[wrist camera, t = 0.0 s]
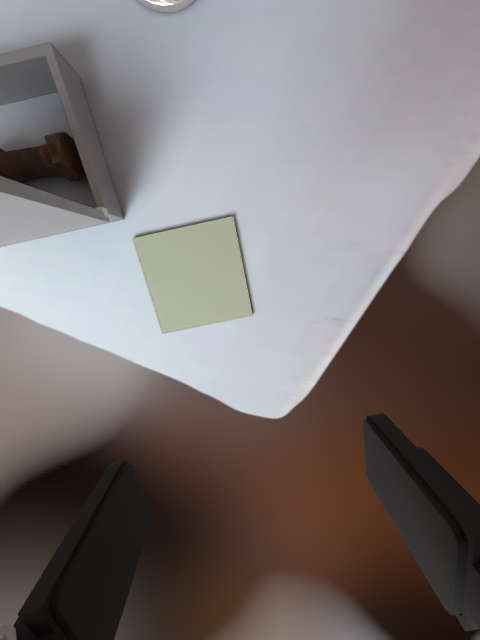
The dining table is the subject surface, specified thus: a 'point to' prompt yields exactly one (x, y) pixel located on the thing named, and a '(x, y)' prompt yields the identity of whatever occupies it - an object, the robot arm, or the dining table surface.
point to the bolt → (44, 160)
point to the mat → (194, 275)
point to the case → (57, 75)
